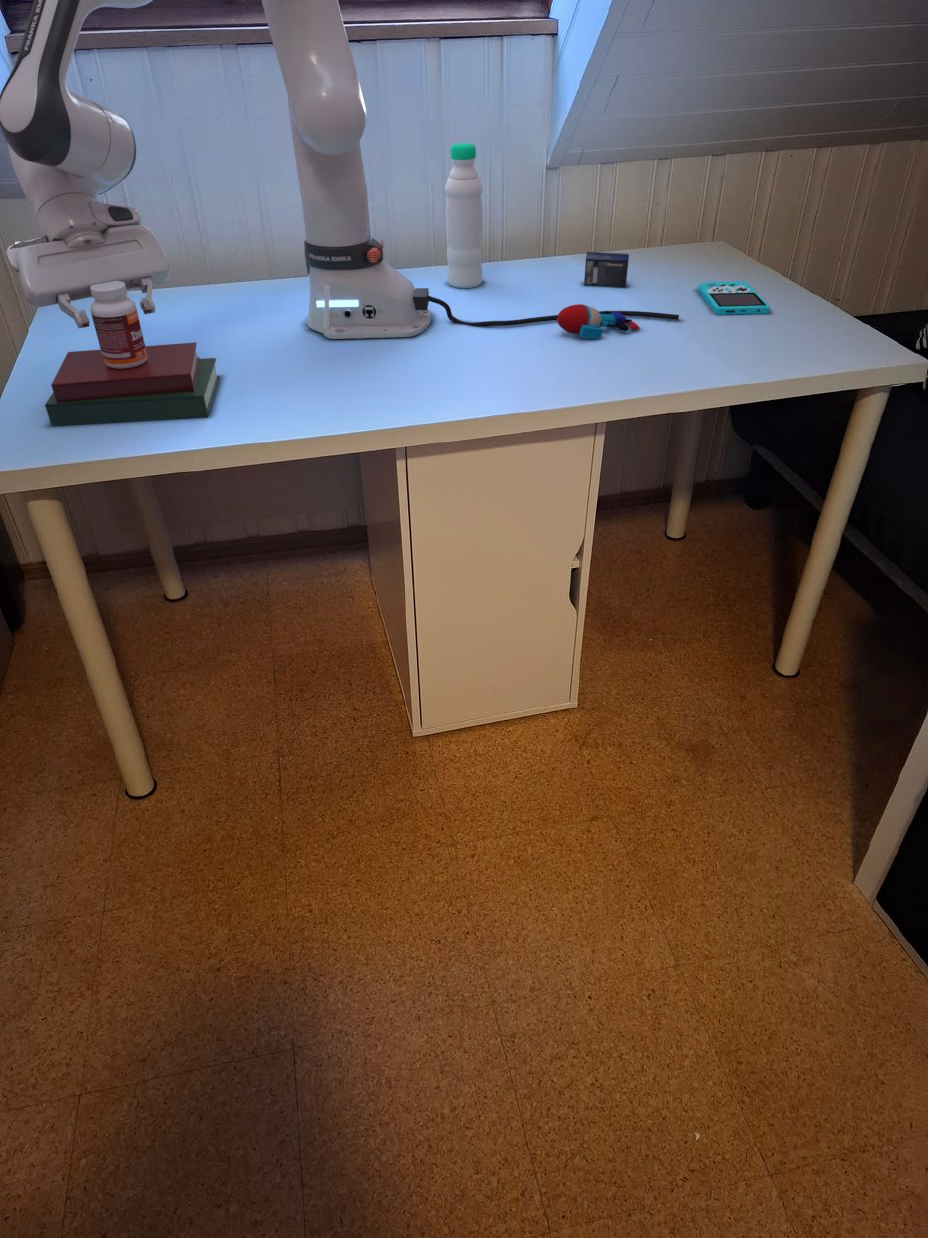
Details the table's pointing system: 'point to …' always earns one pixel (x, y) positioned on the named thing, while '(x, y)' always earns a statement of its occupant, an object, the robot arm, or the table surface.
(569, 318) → the toy figure
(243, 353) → the table surface
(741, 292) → the handheld game console
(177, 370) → the upper book
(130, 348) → the pill bottle
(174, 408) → the lower book
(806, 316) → the table surface
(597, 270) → the mini dv tape
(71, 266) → the robot arm
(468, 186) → the water bottle
